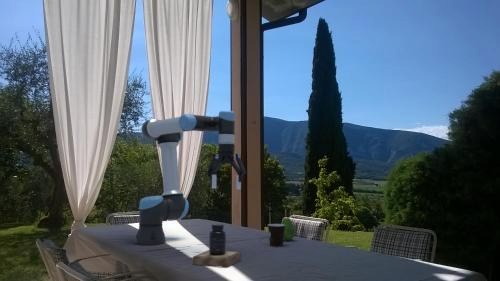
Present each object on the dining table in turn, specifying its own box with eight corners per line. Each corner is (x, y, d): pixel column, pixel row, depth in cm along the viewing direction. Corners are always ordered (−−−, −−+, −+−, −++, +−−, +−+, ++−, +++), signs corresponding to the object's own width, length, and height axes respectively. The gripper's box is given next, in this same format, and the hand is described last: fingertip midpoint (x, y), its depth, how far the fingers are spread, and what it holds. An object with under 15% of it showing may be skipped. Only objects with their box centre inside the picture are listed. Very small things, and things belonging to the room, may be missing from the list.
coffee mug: (283, 247, 213) (283, 226, 213) (266, 246, 214) (266, 225, 215) (286, 243, 224) (286, 223, 225) (270, 242, 226) (270, 222, 226)
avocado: (277, 239, 234) (277, 217, 235) (290, 238, 237) (290, 216, 238) (284, 242, 227) (284, 219, 227) (297, 241, 230) (297, 218, 230)
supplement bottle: (209, 252, 182) (209, 223, 183) (225, 252, 183) (225, 223, 184) (209, 255, 176) (209, 225, 176) (226, 255, 176) (226, 225, 177)
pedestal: (192, 264, 174) (192, 256, 175) (208, 257, 189) (208, 249, 189) (227, 267, 169) (227, 258, 170) (240, 259, 184) (241, 251, 184)
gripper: (253, 143, 203) (253, 189, 202) (209, 144, 215) (208, 187, 214) (245, 142, 196) (245, 190, 195) (200, 143, 208) (199, 188, 207)
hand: (226, 188), depth 204 cm, fingers open, 13 cm apart
